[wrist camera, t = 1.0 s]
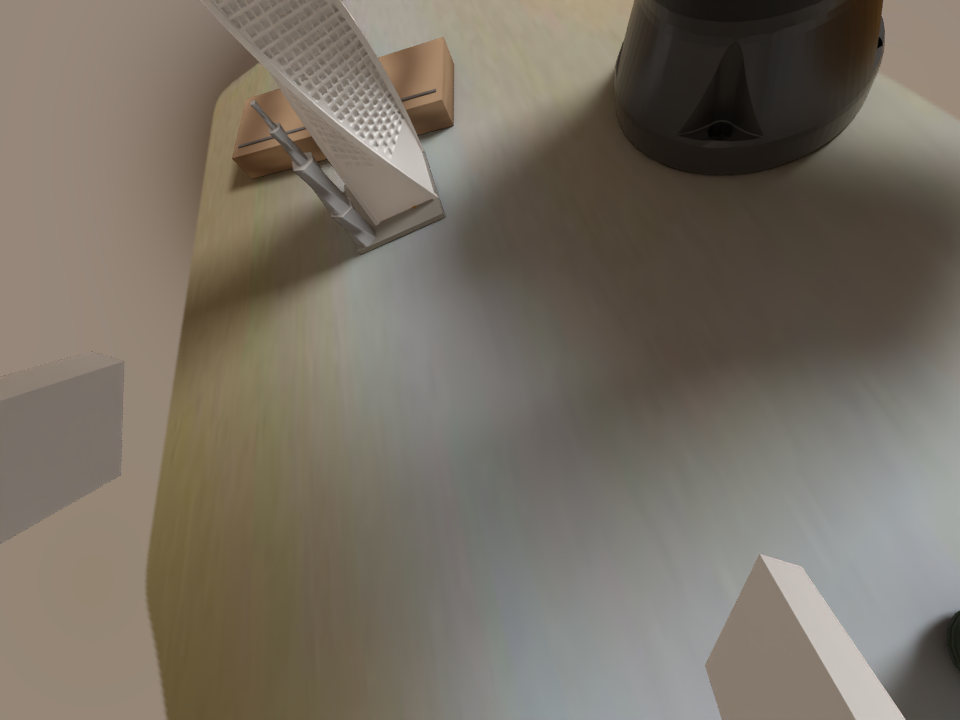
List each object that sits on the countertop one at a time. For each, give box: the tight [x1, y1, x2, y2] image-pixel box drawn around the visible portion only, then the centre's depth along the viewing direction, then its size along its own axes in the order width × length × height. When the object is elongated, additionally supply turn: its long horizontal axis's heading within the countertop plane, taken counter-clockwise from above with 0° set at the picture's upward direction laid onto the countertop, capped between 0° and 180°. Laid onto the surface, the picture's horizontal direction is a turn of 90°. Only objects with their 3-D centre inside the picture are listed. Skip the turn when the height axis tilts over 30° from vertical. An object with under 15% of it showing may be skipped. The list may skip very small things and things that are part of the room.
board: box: [232, 37, 454, 179], centre depth 43 cm, size 19×7×3 cm, turn 91°
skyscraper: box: [200, 0, 445, 255], centre depth 27 cm, size 8×8×28 cm
